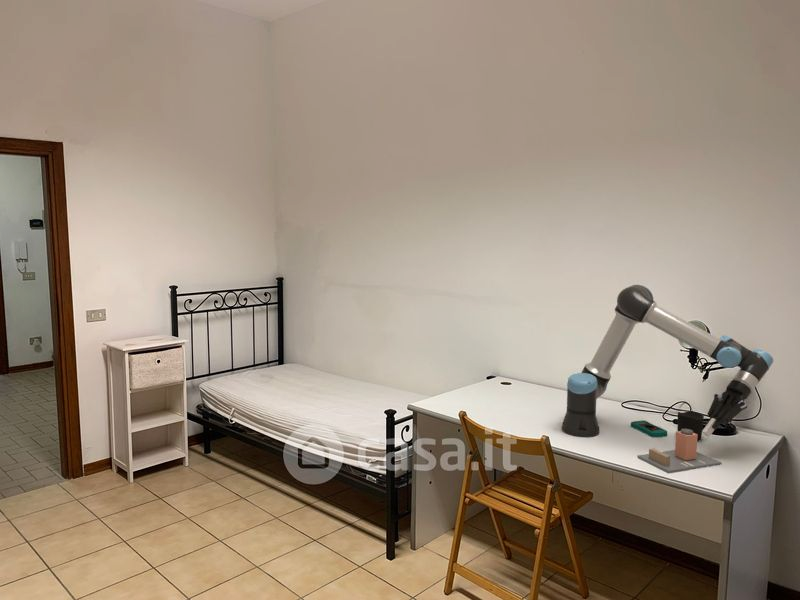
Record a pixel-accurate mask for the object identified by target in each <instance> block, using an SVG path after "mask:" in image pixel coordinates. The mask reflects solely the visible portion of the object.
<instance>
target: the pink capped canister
mask: <svg viewBox="0 0 800 600" xmlns="http://www.w3.org/2000/svg"><path fill="white" fill-rule="evenodd" d="M697 438H698V435H697V434H695V433H693V431H692V430H690V429H681V431H678V430H677V431H676V432H675V443H674V450H675V456H677V457H679V458H681V459H684V460H691V459H696V455H697V452H698V451H697V450H698V441H697Z"/></svg>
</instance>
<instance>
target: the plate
mask: <svg viewBox="0 0 800 600" xmlns="http://www.w3.org/2000/svg"><path fill="white" fill-rule="evenodd" d="M636 456H637V457H636V458H637V459H639V460H641V461H643V462H645V463H647V464H649V465H651V466H653V467H655V468H657V469H659V470H660V471H661V470H662V471H663V472H666V473H667V474H672V473H678V472H686V471H690V469H691V470H696V468H697V469H702V468H701V467H703V468H708V467H707V466H709V467H714V466H713V465H715V466H720V464H721V465H722V461H720V460H718V459H715V458H712V457H710V456H708V455H705V454H704V453H701V452H699V451H697V455H696V459H691V460H684V459H681V458H679V457H677V456H675V449H672V450H665V451H661V450H658V449H656V448H649V449H648V453H646V454H645V453H644V454H637V455H636Z"/></svg>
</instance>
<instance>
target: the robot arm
mask: <svg viewBox="0 0 800 600" xmlns="http://www.w3.org/2000/svg"><path fill="white" fill-rule="evenodd" d="M616 303H617V304H616V306H615V308H614V312H615V316H614V318H613V320H612V321H611V324H610V325H609V327H608V330H607V331H606V333H605V335H604V336H603V338H602V340H601V343H600V345H599V347H598V348H597V350H596V352H595V354H594V356H593V358H592V360H591V361H590V362H588V363H585V365H584V367H583V369H582V370H581V372H578V373H573V374H571V375H569V377H568V378H567V383H566V390H567V391H566V393H567V394H566V411H565V414H564V415H565V416H564V418H563V420H562V423H561V431H563V433H565V434H567V435H570V436H573V437H574V436H575V437H582V438H583V437H585V438H589V437H595V436H598V435H600V432H601V429H600V425H599V421H598V418H597V399H599V398H600V397H601V396H602V395H604V393H605V392H606V390H607V387H608V384H609V382H610V380H611V378H612V376H611V373H610V372H611V371H612V368H613V367H614V365H615V363H616V361H617V359H618V358H619V355H620V354H621V352H622V350H623V349H624V347H625V344H626V342H627V341H628V339H629V337H630V335H631V333H632V332H633V330H634V328H635V326H636V325H637V324H640V323H641V324H644V323H647V324H648V325H651V326H652V327H654V328H657V329H658V330H660V331H662V332H663V333H666V334H667V335H668V336H670V337H673V338H675V339H676V340H678V341H680V342H682V343H683V344H685V345H687V346H689V347H691V348H692V349H695V350H696V351H698V352H700V353H702V354H703V355H705V356H707V357H709V358H711V359H712V360H714V361H716V362H718V364H719V365H720V366H721V367H723V368H725V369H733V368H735V367H738V368H740V369H739V370H738V371H737V373H736V374H735V375H734V376H733V378H732V380H731V381H730V382H729V383H728V385H727V386H726V388H725V389H726V390H725V391H723V392H722V393H721V394H717V393H715V394H714V395H713V401H712V403H711V404H710V407H709V409H708V412H707V416H708V417H709V419H708V420H707V422H706V423H705V427H703V429H702V434H703V435H704V436H705V437H708V438H710V437H711V435H712V434H713V432H714V431H716V430H717V429H718V428H719V427H720V425H721V424H726V425H727V424H729V422H731V421H732V420H733V419H734V418H735V417H737V415H739V414H740V413H741V412H742V411H744V410H745V409H747V408H748V406H747V404H746V403H745V401H746V400H747V399H748V398H749V396H750V395H751V394H752V392H753V390H754V389H755V388H756V387H757V386H758V384H759V383H760V381H761V380H762V379H763V378H764V376H765V375H766V373H767V372H768V371H769V370H770V368H771V366H772V364H773V363H774V358H773V356H772V355H771V354H770V353H768V351H765V350H762V349H760V348H759V349H758V348H757V349H756V348H755V349H754V350H751V349H748V348H747V347H745V346H744V345H742V344H741V343H739V342H737V341H736V340H734V339H733V338H732V337H729V336H728V335H725V334H724V335H721V336H720V338H719V337H717V336H715V335H713V334H712V333H709V332H707V331H705V330H704V329H701V328H700V327H698V326H696V325H695V324H693V323H690V322H689V321H686V320H685V319H683V318H682V317H679V316H677V315H675V314H673V313H671V312H670V311H668V310H666V309H664V308H662V307H660V306H659V305H658V304H657V301H655V300H654V295H653V292H652V291H651V290H650V289H649V288H648V287H647V286H645V285H642V284H632V285H630V286H628V287H625V288H624V289H622V290H621V291H620V292H619V293H618V295H617V297H616Z"/></svg>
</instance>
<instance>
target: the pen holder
mask: <svg viewBox="0 0 800 600" xmlns="http://www.w3.org/2000/svg"><path fill="white" fill-rule="evenodd" d="M704 416H705V415H704V414H703V413H701V412H697V411H693V410H687V411H684V412H680V411H678V412H677V428H676V429H677V432H678V431H681V429H690V430H692V431H693V433H695V434H697V435H698V438H697V442H700V441H701V440H702V435H703V432H702V431H703V429H704V427H703V426H704V418H705V417H704ZM699 440H700V441H699Z"/></svg>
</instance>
